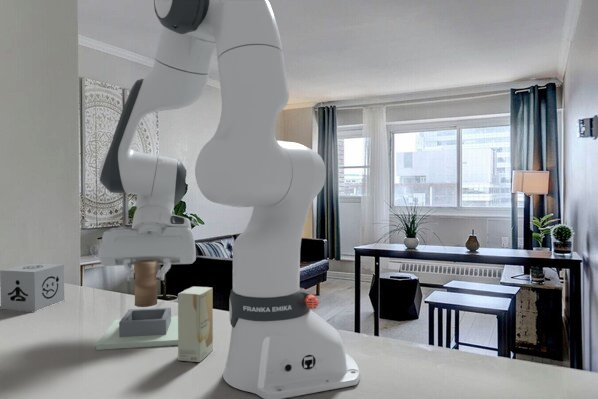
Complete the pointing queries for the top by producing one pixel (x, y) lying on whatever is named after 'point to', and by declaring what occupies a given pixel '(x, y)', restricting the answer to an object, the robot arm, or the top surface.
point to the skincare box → (195, 323)
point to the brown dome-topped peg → (145, 283)
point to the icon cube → (31, 286)
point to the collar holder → (141, 330)
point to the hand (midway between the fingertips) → (145, 279)
